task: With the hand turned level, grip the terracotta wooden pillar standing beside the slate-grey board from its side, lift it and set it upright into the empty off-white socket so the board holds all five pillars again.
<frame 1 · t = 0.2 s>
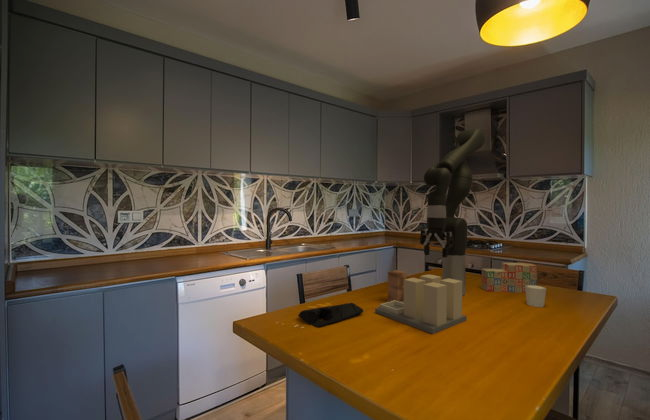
hand: (435, 256, 132), 18 cm above the counter, tool pointing down, fingers open, 8 cm apart
pillar board: (419, 316, 112), on the counter
terracotta pillar: (396, 301, 129), on the counter
dark slate chunk: (331, 317, 113), on the counter
stack of blocks: (508, 291, 146), on the counter
beige piece: (535, 305, 125), on the counter
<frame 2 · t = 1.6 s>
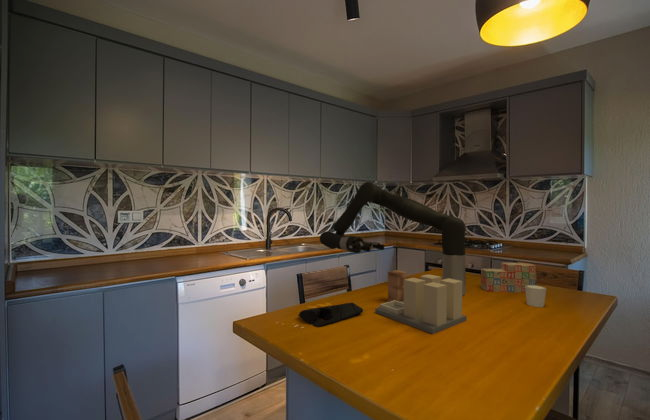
hand: (376, 248, 138), 20 cm above the counter, tool horizontal, fingers open, 8 cm apart
nothing on the counter moved.
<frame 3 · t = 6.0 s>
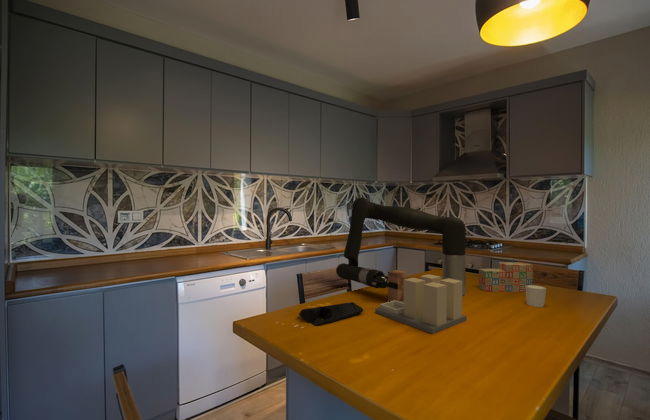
hand: (402, 285, 127), 7 cm above the counter, tool horizontal, fingers closed on terracotta pillar, 5 cm apart
terracotta pillar: (397, 301, 129), on the counter, touching gripper
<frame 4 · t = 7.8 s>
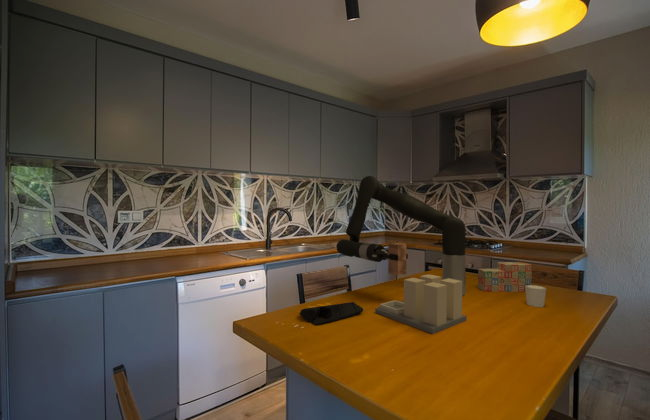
hand: (402, 257, 127), 18 cm above the counter, tool horizontal, fingers closed on terracotta pillar, 5 cm apart
terracotta pillar: (397, 273, 129), point 11 cm above the counter, touching gripper
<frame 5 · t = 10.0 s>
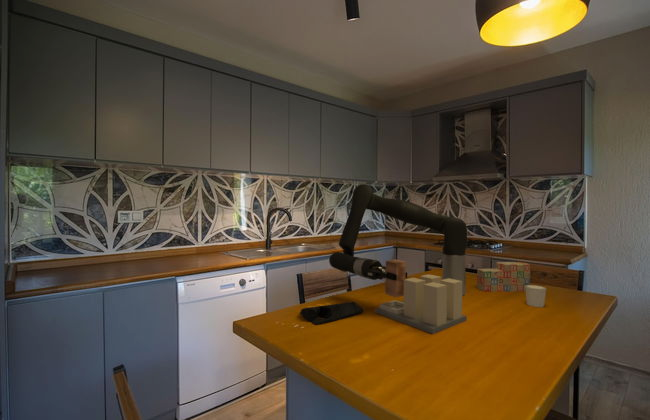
hand: (401, 276, 113), 14 cm above the counter, tool horizontal, fingers closed on terracotta pillar, 5 cm apart
terracotta pillar: (395, 294, 116), point 7 cm above the counter, touching gripper
when the fingers open (9 cm above the counter, at t = 11.2 s): terracotta pillar stays where it is, resting on pillar board.
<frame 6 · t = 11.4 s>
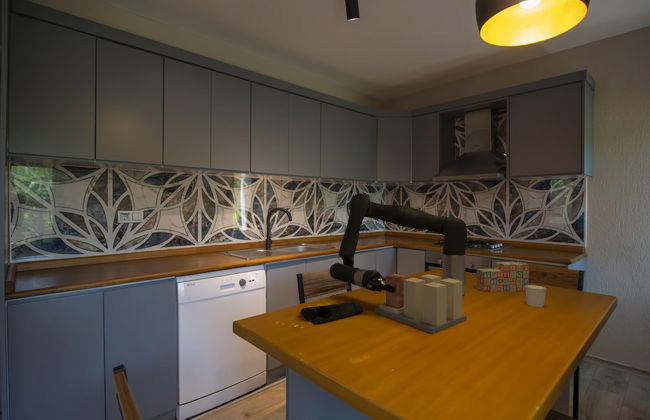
hand: (401, 288, 114), 9 cm above the counter, tool horizontal, fingers open, 6 cm apart
terracotta pillar: (395, 309, 116), point 2 cm above the counter, touching pillar board
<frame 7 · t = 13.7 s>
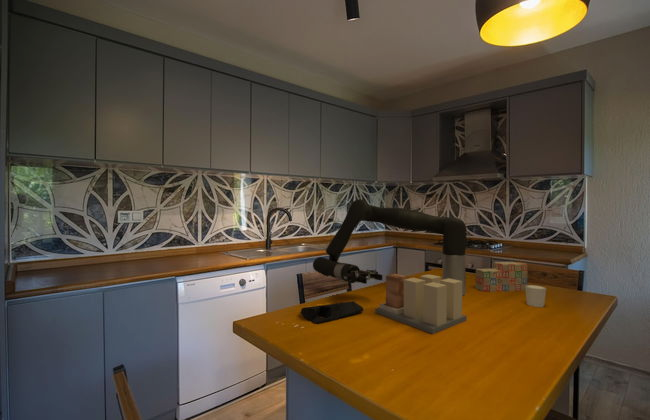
hand: (374, 279, 124), 10 cm above the counter, tool horizontal, fingers open, 8 cm apart
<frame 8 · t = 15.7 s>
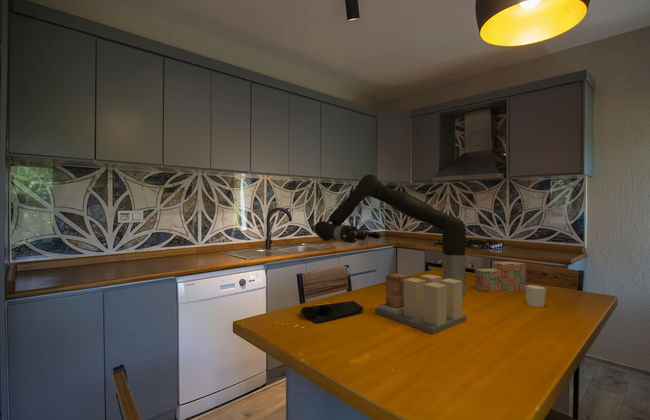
hand: (372, 236, 130), 26 cm above the counter, tool horizontal, fingers open, 8 cm apart
at the end: terracotta pillar 0.0 cm from the target spot on the pillar board, point 1.5 cm above the pillar board's base; terracotta pillar tilted 0°; the gripper is holding nothing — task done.
